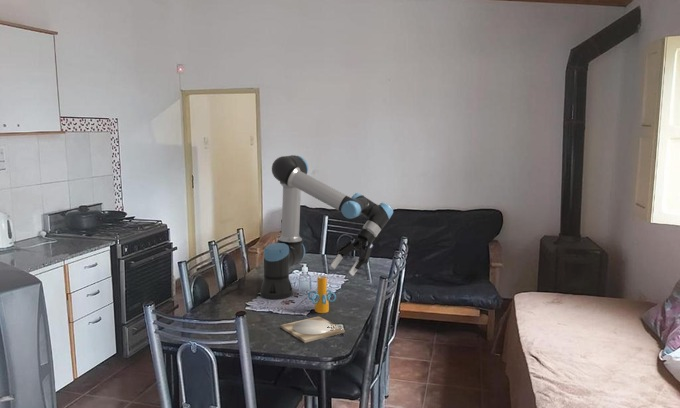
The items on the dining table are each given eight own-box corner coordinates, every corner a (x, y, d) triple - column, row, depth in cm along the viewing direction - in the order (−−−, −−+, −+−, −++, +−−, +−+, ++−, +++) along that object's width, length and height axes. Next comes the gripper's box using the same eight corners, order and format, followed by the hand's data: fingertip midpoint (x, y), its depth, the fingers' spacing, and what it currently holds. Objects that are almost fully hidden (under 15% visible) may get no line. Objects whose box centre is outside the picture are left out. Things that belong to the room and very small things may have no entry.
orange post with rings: (322, 305, 236) (322, 272, 233) (340, 310, 229) (340, 276, 227) (303, 312, 226) (303, 277, 224) (321, 317, 220) (321, 282, 218)
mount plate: (280, 327, 208) (280, 324, 208) (319, 318, 218) (319, 315, 218) (304, 342, 194) (304, 339, 193) (344, 332, 204) (344, 329, 204)
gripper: (391, 243, 229) (363, 282, 222) (356, 233, 249) (329, 269, 242) (382, 232, 225) (354, 272, 219) (347, 223, 245) (320, 259, 239)
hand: (341, 270), depth 230 cm, fingers open, 13 cm apart
